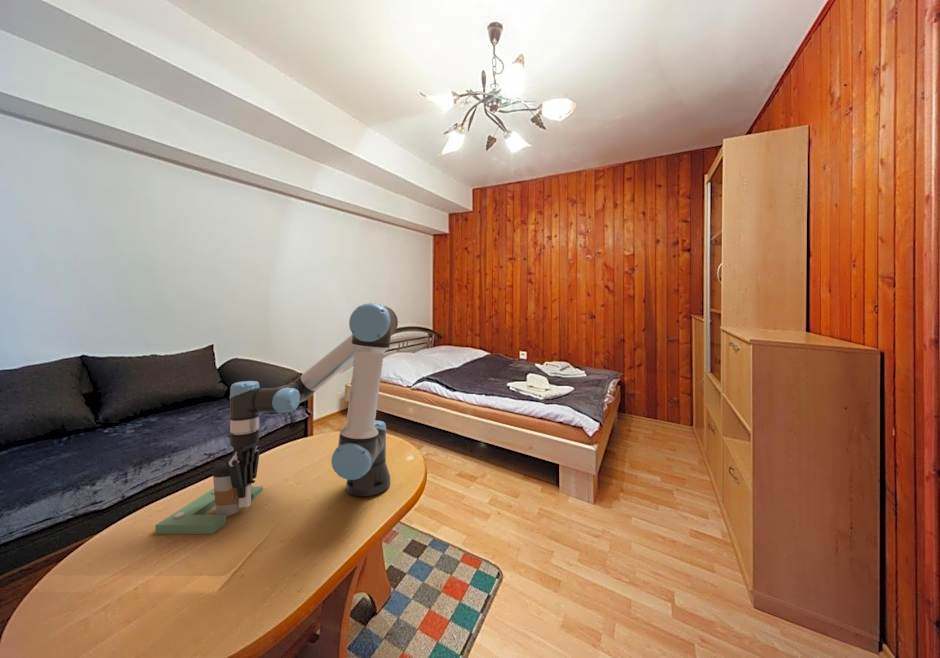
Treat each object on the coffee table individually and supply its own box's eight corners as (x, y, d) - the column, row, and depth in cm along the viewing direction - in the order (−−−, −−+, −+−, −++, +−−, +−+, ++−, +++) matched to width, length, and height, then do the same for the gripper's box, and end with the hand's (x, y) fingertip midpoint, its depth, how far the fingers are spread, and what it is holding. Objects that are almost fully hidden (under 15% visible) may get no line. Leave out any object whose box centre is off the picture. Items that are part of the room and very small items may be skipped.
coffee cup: (228, 520, 96) (228, 470, 96) (204, 518, 98) (204, 468, 98) (251, 505, 104) (251, 459, 104) (229, 503, 106) (229, 458, 106)
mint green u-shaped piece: (262, 493, 112) (262, 484, 112) (212, 534, 90) (212, 523, 90) (216, 493, 112) (216, 484, 112) (155, 533, 90) (155, 522, 90)
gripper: (247, 424, 108) (247, 495, 108) (216, 438, 94) (216, 518, 94) (269, 424, 108) (269, 495, 108) (242, 438, 94) (242, 518, 95)
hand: (244, 505), depth 101 cm, fingers closed, pressing on coffee cup
